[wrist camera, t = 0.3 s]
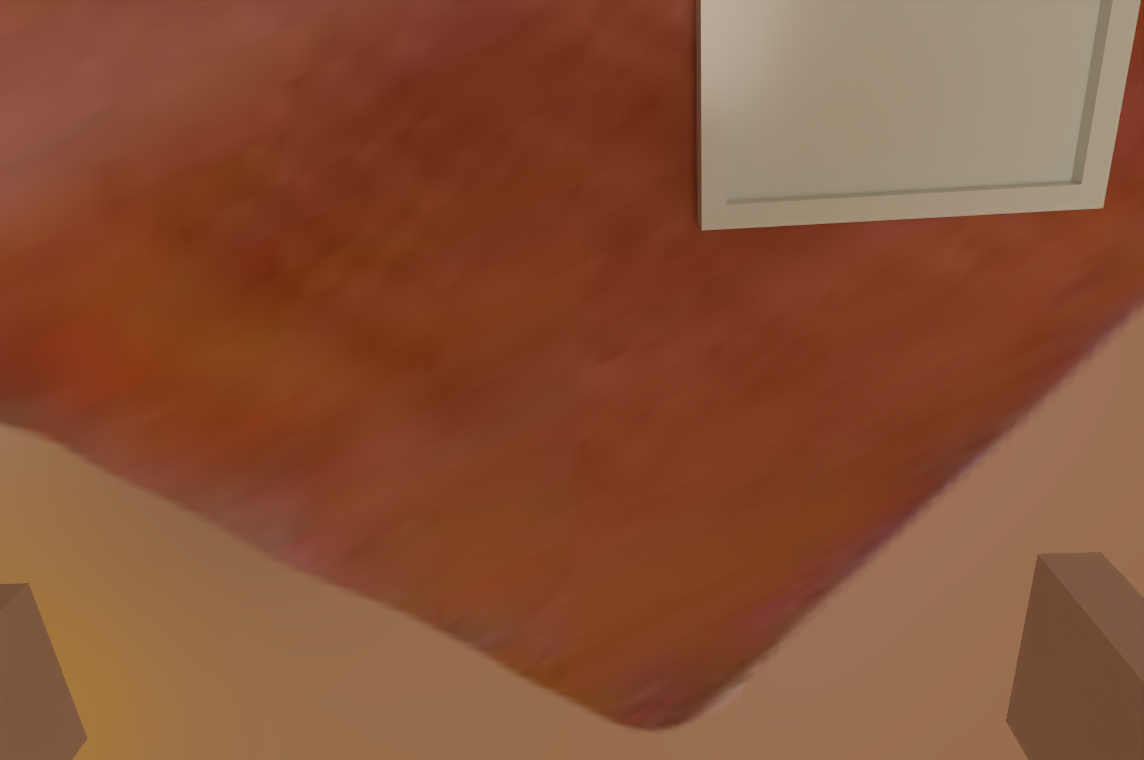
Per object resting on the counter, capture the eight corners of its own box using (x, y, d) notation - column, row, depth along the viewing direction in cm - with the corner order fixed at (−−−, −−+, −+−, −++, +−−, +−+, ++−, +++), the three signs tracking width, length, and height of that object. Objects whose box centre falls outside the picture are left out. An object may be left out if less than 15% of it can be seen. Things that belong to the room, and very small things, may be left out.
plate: (694, -224, 30) (699, -239, 28) (1158, -264, 29) (1191, -281, 27) (697, 221, 36) (701, 230, 34) (1079, 199, 35) (1102, 208, 33)
